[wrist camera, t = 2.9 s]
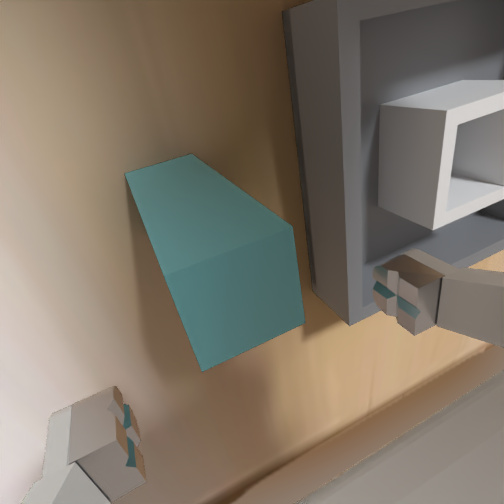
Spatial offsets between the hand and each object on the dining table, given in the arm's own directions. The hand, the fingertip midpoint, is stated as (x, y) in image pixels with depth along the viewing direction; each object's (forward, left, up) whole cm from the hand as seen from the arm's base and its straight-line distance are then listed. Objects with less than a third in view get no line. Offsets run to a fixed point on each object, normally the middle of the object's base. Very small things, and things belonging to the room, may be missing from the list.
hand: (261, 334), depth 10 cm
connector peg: (0, 0, -13) cm, 13 cm away
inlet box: (+2, +19, -13) cm, 23 cm away
